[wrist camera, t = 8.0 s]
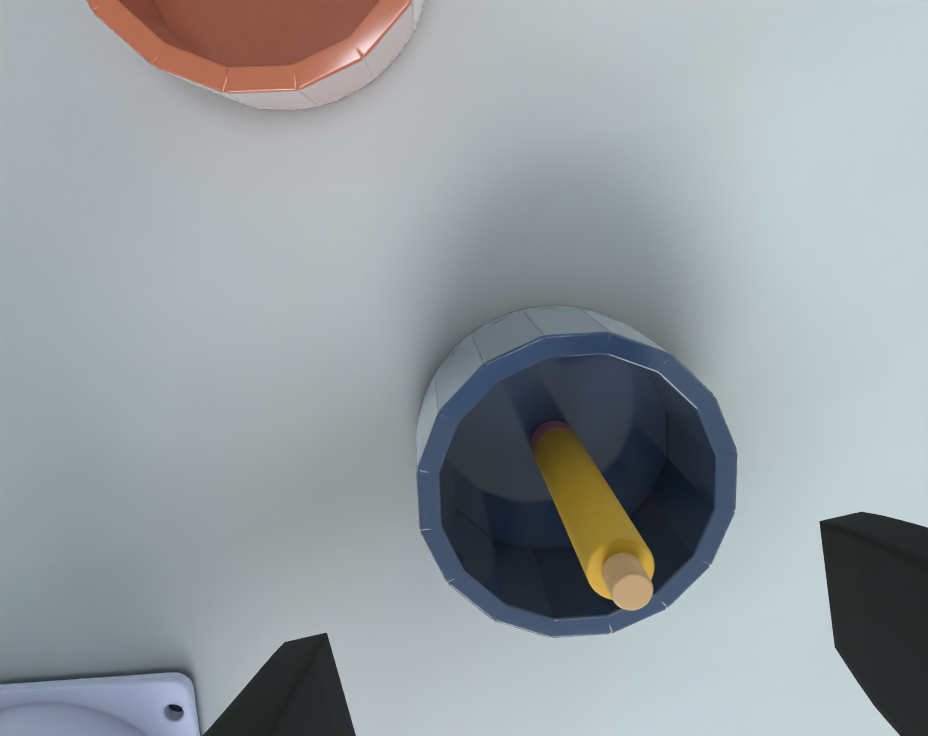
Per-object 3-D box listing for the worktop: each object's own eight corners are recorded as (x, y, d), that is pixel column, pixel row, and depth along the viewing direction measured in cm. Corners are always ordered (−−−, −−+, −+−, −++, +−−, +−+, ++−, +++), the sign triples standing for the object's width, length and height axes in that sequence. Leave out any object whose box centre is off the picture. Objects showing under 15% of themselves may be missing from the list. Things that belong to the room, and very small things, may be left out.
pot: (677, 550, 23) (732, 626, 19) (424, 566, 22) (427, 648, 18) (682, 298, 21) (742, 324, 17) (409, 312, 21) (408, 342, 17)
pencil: (576, 462, 21) (668, 623, 14) (530, 465, 21) (597, 627, 14) (575, 417, 21) (669, 555, 13) (529, 420, 21) (596, 560, 13)
